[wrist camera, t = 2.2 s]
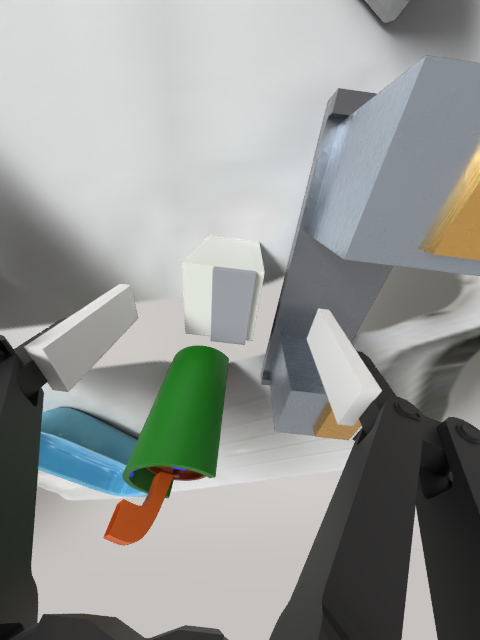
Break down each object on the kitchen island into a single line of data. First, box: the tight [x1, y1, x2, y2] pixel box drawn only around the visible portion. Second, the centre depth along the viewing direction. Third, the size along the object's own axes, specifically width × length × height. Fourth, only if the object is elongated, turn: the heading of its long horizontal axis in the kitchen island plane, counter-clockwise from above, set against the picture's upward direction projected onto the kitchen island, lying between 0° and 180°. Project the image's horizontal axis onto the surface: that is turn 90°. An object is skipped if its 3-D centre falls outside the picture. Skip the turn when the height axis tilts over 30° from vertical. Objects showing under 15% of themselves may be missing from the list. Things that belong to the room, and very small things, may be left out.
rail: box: [261, 55, 480, 440], centre depth 20 cm, size 11×32×11 cm, turn 174°
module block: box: [181, 235, 265, 345], centre depth 18 cm, size 6×6×11 cm
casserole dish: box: [38, 408, 148, 497], centre depth 46 cm, size 37×22×7 cm, turn 39°
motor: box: [104, 346, 229, 545], centre depth 24 cm, size 10×9×20 cm
